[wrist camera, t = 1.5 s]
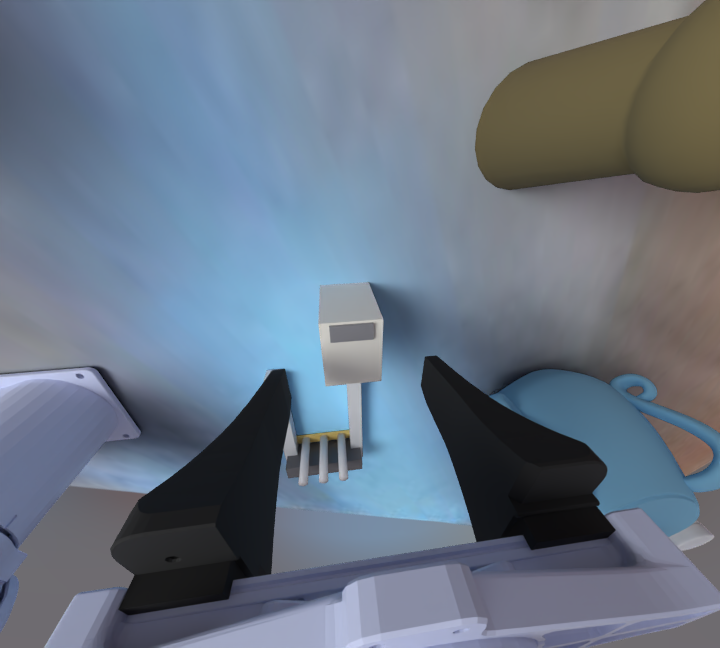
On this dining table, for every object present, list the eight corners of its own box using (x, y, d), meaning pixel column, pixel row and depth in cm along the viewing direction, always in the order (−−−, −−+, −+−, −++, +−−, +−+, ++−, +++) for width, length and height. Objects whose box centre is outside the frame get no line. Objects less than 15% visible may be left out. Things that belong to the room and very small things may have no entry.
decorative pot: (437, 459, 32) (502, 625, 20) (470, 356, 23) (611, 538, 12) (556, 447, 34) (678, 593, 22) (625, 348, 25) (878, 498, 14)
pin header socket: (289, 455, 28) (283, 501, 24) (266, 370, 21) (254, 413, 18) (361, 446, 28) (366, 489, 24) (359, 361, 22) (366, 401, 18)
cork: (570, 171, 16) (902, 171, 7) (477, 203, 17) (675, 243, 7) (586, 40, 13) (1233, -286, 4) (471, 83, 13) (806, -121, 4)
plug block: (325, 337, 21) (325, 388, 16) (320, 285, 18) (318, 325, 13) (368, 334, 21) (381, 383, 16) (368, 282, 19) (384, 321, 14)
